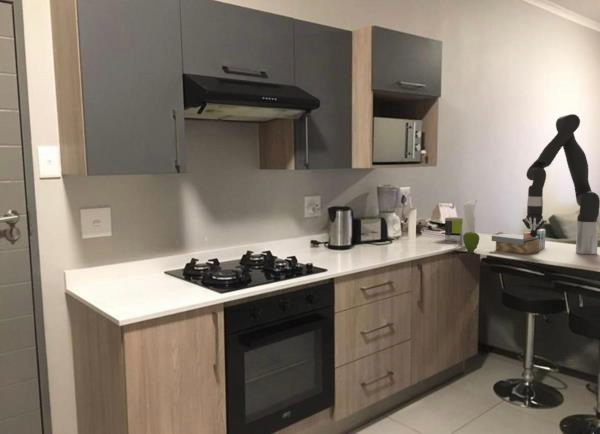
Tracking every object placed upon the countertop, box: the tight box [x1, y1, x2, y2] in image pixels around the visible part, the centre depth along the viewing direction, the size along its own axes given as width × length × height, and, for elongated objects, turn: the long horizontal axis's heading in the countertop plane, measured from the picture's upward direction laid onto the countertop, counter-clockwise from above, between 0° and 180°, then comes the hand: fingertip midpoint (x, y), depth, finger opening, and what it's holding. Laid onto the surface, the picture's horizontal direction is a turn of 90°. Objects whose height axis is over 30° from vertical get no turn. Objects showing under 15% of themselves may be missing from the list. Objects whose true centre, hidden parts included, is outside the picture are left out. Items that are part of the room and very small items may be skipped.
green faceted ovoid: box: [463, 232, 480, 253], centre depth 282 cm, size 9×8×12 cm
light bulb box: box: [528, 228, 547, 251], centre depth 291 cm, size 11×7×11 cm, turn 143°
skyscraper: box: [459, 199, 478, 248], centre depth 299 cm, size 8×8×28 cm
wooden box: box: [495, 239, 540, 256], centre depth 281 cm, size 18×13×7 cm
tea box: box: [444, 216, 463, 242], centre depth 323 cm, size 15×10×15 cm
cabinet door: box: [491, 231, 539, 245], centre depth 282 cm, size 19×15×6 cm
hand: (533, 237), depth 273 cm, fingers closed
